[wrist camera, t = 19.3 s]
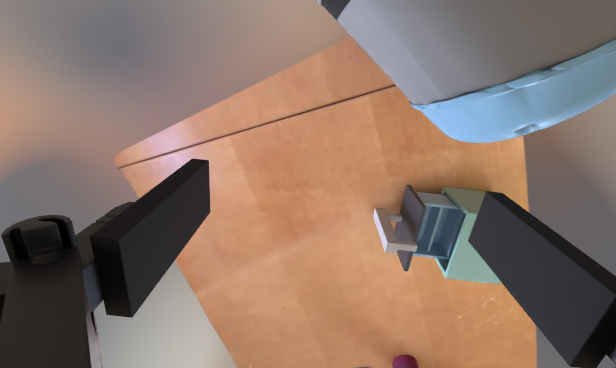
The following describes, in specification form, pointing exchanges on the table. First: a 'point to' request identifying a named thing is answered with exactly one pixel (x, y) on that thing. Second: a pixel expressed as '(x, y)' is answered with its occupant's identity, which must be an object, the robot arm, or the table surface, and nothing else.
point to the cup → (405, 362)
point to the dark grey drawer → (420, 226)
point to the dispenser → (466, 241)
